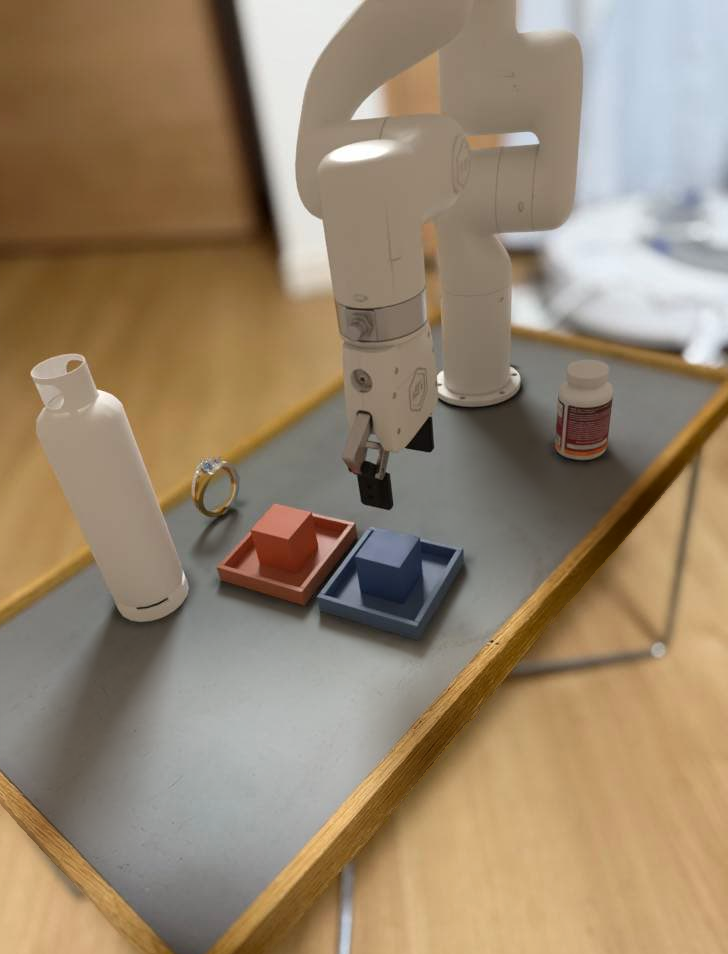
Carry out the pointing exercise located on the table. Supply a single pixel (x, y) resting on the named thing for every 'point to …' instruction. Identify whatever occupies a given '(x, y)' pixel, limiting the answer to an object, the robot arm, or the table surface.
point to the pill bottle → (584, 410)
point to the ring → (199, 491)
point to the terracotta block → (285, 538)
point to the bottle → (108, 489)
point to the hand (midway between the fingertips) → (399, 476)
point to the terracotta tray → (283, 584)
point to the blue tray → (385, 614)
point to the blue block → (389, 565)
